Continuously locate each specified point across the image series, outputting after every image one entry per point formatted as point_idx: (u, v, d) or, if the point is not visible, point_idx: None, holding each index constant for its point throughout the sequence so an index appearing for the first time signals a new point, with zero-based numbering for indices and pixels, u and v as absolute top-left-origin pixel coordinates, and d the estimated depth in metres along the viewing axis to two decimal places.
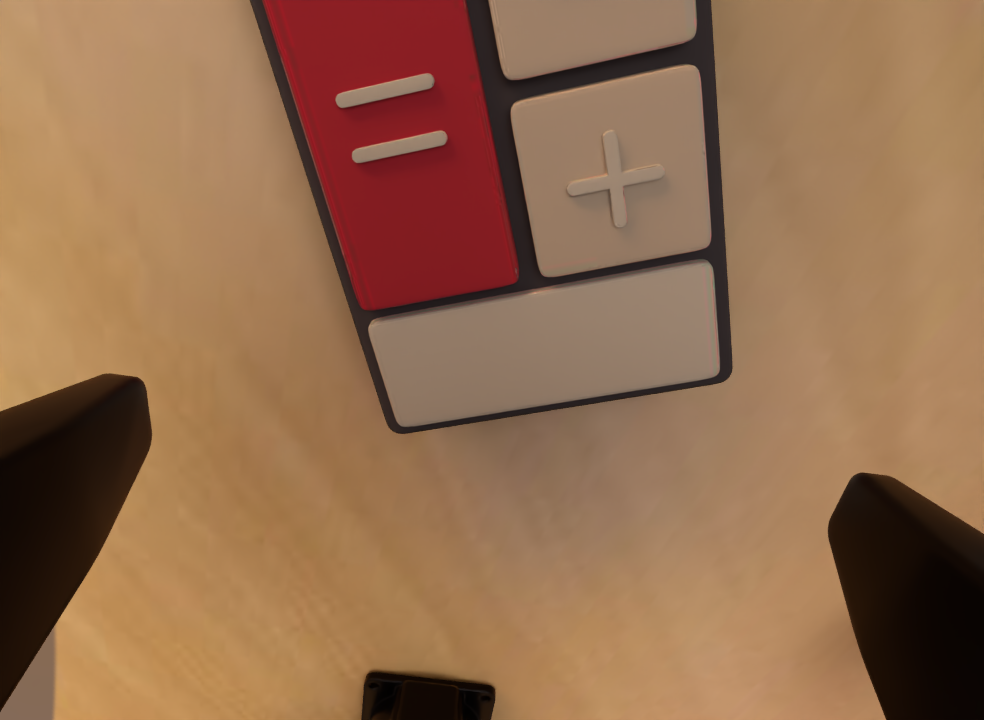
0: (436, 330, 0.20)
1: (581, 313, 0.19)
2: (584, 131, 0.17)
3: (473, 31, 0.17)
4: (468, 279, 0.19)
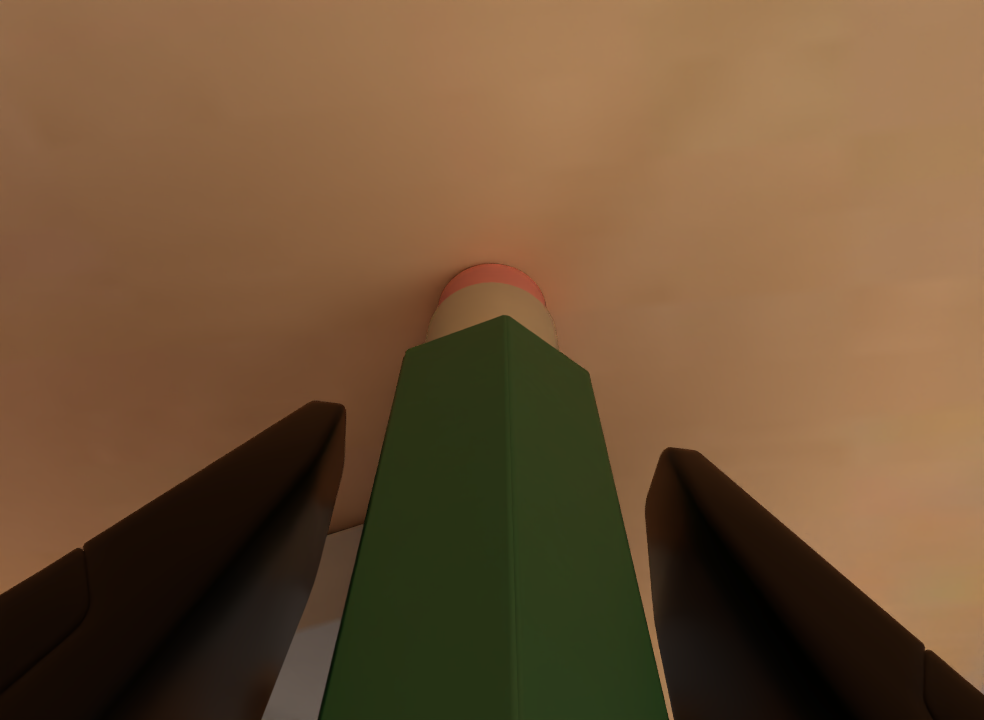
0: None
1: None
2: None
3: None
4: None
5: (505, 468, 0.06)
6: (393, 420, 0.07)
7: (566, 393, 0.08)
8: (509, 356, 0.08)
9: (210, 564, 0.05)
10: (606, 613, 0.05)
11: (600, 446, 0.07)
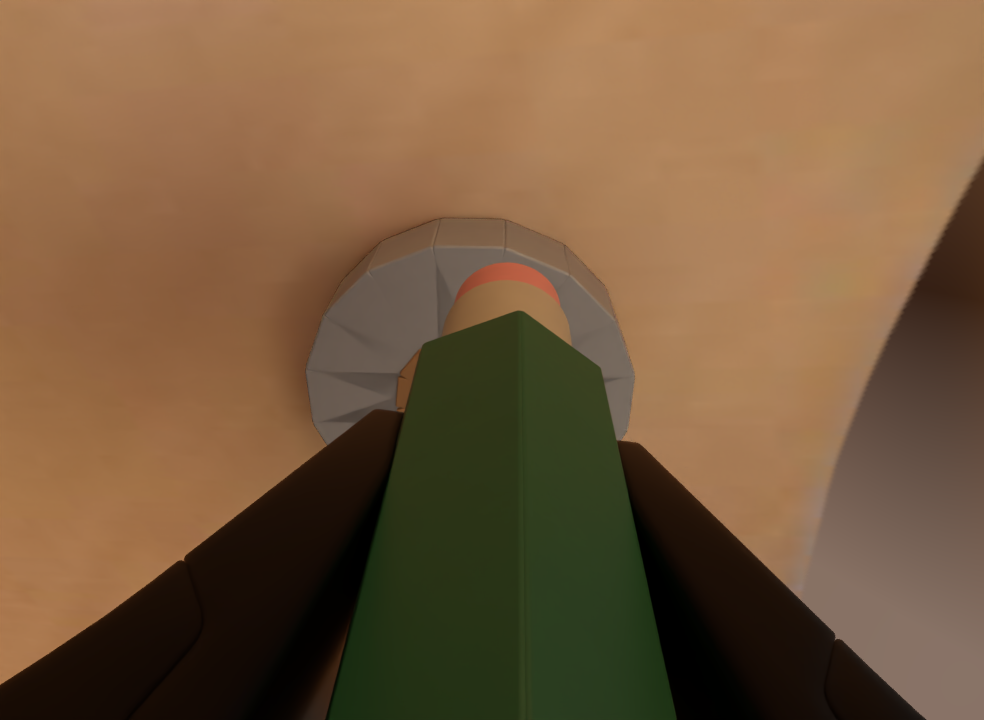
0: None
1: None
2: None
3: None
4: None
5: (516, 455, 0.06)
6: (409, 409, 0.08)
7: (578, 386, 0.08)
8: (523, 349, 0.08)
9: (311, 576, 0.05)
10: (612, 593, 0.05)
11: (610, 438, 0.08)
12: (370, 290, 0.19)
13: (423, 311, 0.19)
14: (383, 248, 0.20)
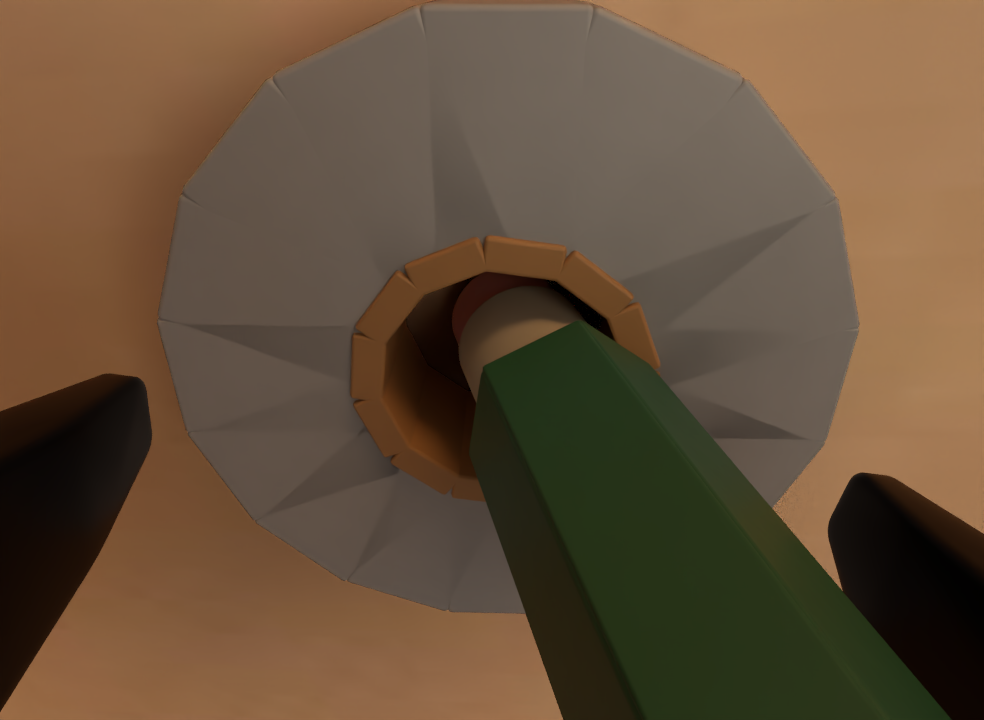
0: None
1: None
2: None
3: None
4: None
5: (687, 474, 0.06)
6: (523, 441, 0.07)
7: (659, 389, 0.08)
8: (612, 362, 0.08)
9: None
10: (825, 588, 0.06)
11: (707, 434, 0.08)
12: (279, 128, 0.08)
13: (402, 180, 0.09)
14: None
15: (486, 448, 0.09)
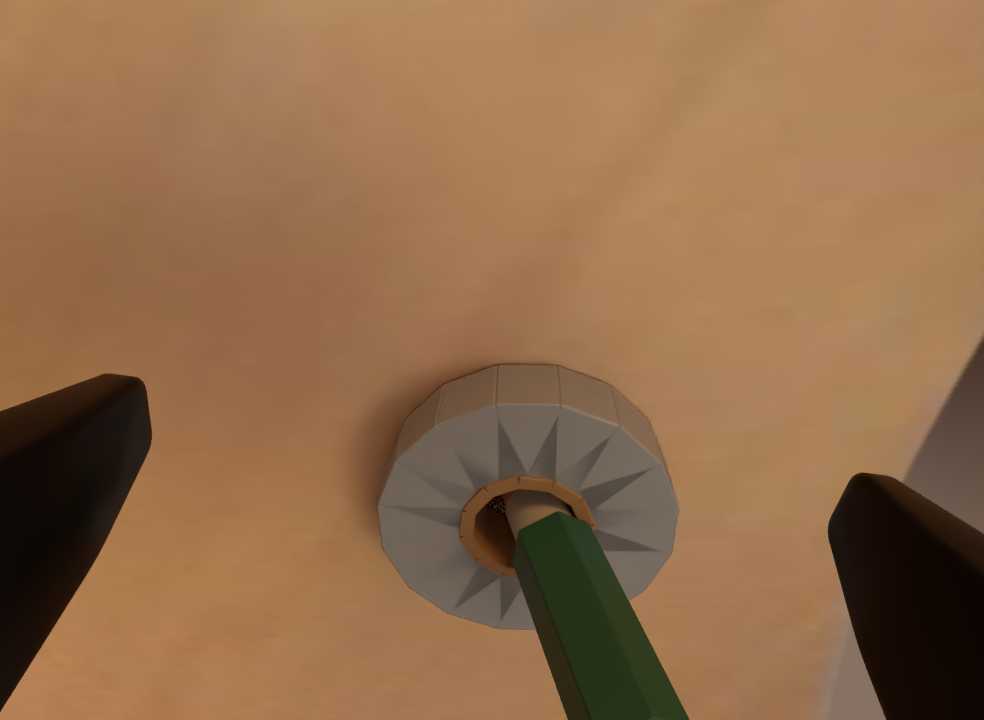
0: None
1: None
2: None
3: None
4: None
5: (591, 586, 0.19)
6: (535, 568, 0.20)
7: (589, 542, 0.21)
8: (569, 534, 0.21)
9: None
10: (632, 625, 0.19)
11: (607, 562, 0.21)
12: (438, 440, 0.21)
13: (485, 457, 0.21)
14: (447, 396, 0.22)
15: (520, 565, 0.21)
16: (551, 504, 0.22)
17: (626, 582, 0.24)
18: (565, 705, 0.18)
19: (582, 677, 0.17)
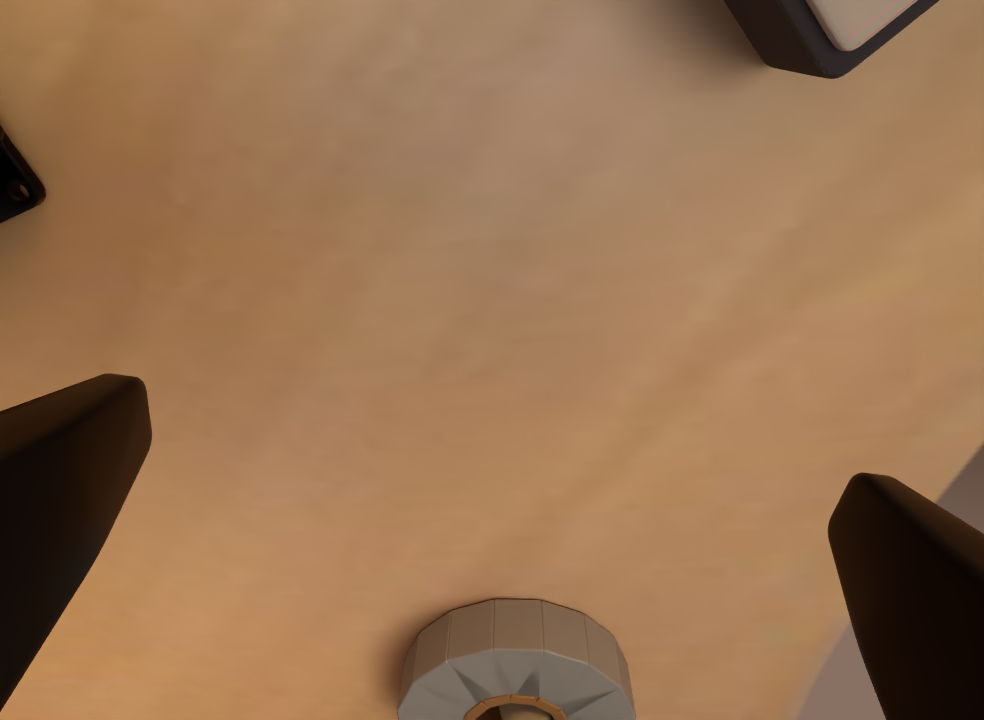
0: None
1: None
2: None
3: None
4: None
5: None
6: None
7: None
8: None
9: None
10: None
11: None
12: (447, 671, 0.27)
13: (484, 681, 0.27)
14: (454, 627, 0.28)
15: None
16: (535, 711, 0.28)
17: None
18: None
19: None
